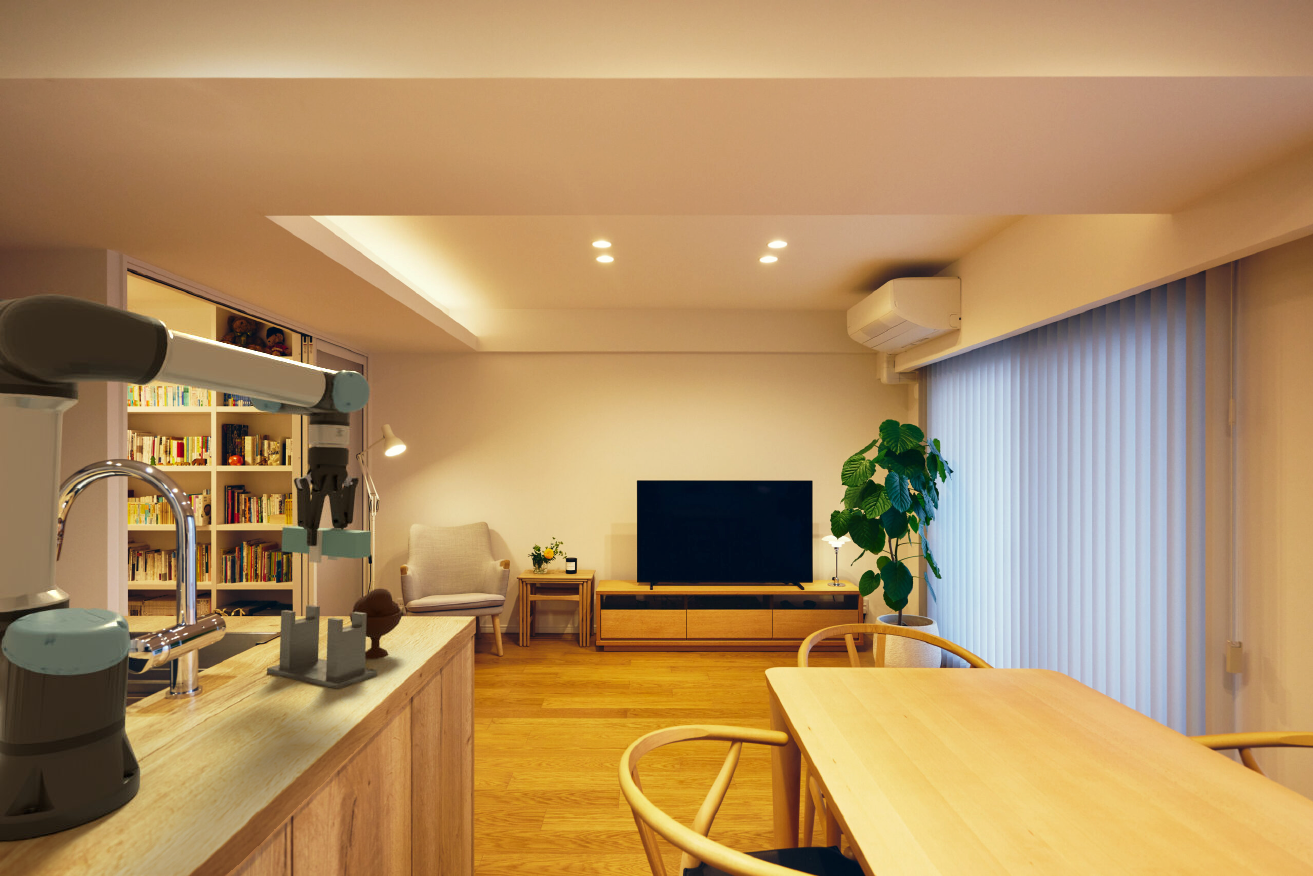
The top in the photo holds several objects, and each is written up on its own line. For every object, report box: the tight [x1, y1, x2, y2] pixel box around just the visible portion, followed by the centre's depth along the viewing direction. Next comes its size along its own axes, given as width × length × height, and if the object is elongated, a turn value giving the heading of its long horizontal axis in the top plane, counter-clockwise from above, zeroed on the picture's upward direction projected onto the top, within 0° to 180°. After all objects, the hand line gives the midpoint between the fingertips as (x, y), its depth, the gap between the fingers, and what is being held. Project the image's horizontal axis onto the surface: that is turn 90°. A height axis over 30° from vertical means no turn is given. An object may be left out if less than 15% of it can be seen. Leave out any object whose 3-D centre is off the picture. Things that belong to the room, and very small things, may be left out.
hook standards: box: [266, 604, 378, 690], centre depth 130 cm, size 9×21×12 cm, turn 65°
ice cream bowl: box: [349, 588, 403, 660], centre depth 143 cm, size 11×11×15 cm
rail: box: [281, 525, 372, 559], centre depth 130 cm, size 22×4×5 cm, turn 65°
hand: (324, 560), depth 130 cm, fingers closed on rail, 3 cm apart
